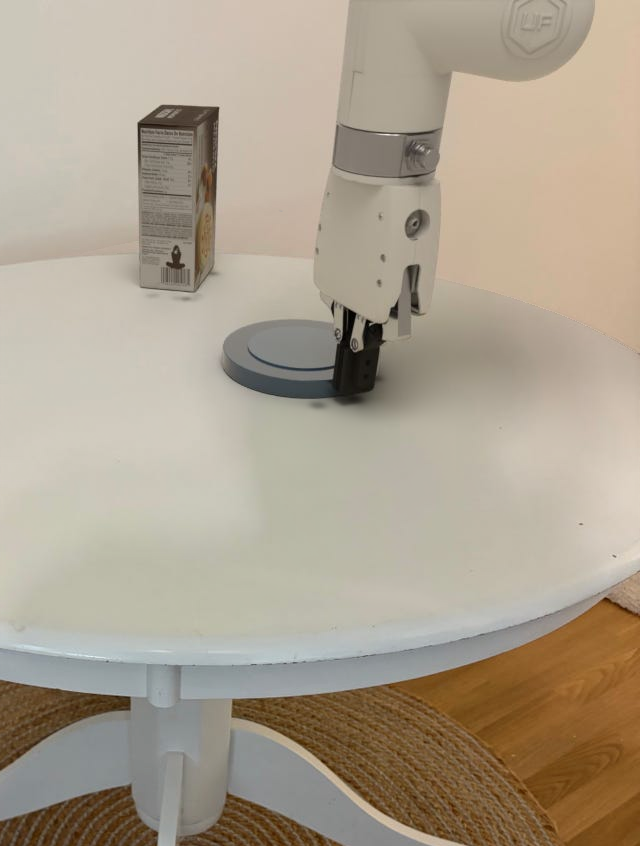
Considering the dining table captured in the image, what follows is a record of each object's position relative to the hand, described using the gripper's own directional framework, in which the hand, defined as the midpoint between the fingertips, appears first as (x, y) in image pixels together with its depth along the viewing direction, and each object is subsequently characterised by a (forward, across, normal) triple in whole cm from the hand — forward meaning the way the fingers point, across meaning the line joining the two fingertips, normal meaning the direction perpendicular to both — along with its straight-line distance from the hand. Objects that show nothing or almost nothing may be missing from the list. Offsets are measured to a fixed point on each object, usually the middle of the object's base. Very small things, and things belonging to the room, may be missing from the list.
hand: (352, 389), depth 83 cm
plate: (+1, +8, 0) cm, 8 cm away
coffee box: (+1, +34, -1) cm, 34 cm away
